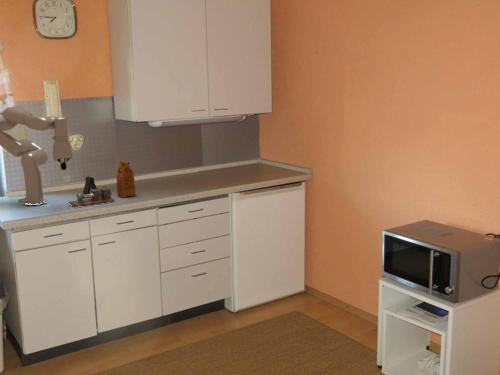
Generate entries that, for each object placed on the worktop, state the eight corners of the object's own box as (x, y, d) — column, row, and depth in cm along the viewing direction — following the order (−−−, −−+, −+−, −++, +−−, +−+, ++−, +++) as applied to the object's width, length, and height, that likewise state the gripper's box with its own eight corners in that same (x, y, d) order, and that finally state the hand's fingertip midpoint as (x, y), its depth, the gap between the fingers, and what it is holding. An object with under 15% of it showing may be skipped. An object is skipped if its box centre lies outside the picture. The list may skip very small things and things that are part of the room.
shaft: (79, 201, 350) (78, 194, 349) (77, 200, 354) (76, 193, 353) (112, 197, 361) (111, 189, 360) (109, 195, 364) (109, 188, 363)
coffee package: (130, 192, 382) (128, 158, 377) (137, 196, 371) (134, 161, 367) (115, 194, 377) (112, 160, 372) (121, 198, 367) (119, 163, 362)
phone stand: (86, 197, 371) (84, 178, 369) (82, 196, 376) (80, 177, 373) (99, 195, 377) (98, 176, 375) (95, 193, 382) (93, 175, 379)
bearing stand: (74, 208, 346) (73, 195, 344) (68, 204, 356) (67, 191, 354) (114, 201, 358) (113, 189, 356) (107, 198, 368) (106, 186, 366)
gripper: (49, 140, 337) (52, 172, 341) (76, 138, 345) (78, 169, 349) (46, 138, 344) (49, 169, 348) (72, 136, 351) (74, 167, 355)
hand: (63, 169), depth 348 cm, fingers closed
